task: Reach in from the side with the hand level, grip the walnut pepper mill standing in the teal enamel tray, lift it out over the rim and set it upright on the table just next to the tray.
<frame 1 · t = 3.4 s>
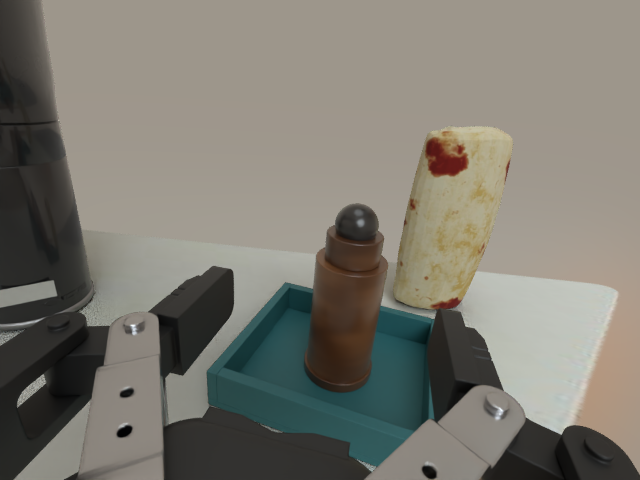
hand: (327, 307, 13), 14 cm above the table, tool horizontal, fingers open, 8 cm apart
pepper mill: (337, 366, 28), point 1 cm above the table, touching tray
food model: (427, 303, 40), on the table
tray: (336, 371, 28), on the table
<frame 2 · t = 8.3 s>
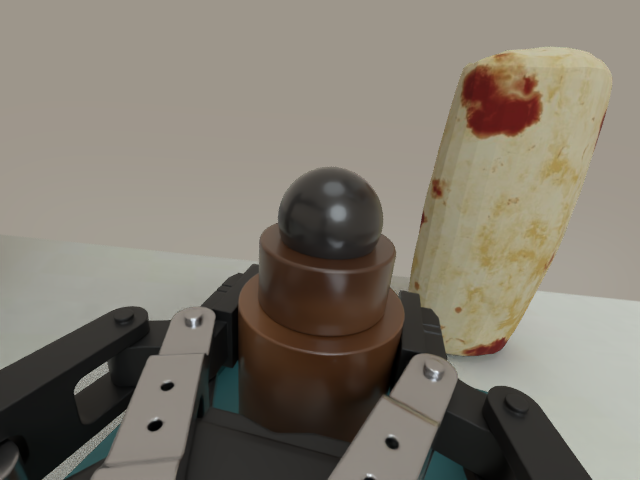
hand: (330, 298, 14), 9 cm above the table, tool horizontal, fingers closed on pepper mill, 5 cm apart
food model: (454, 342, 26), on the table
when the fingers open (8 cm above the table, at t = 15.5 s): pepper mill stays where it is, on the table.
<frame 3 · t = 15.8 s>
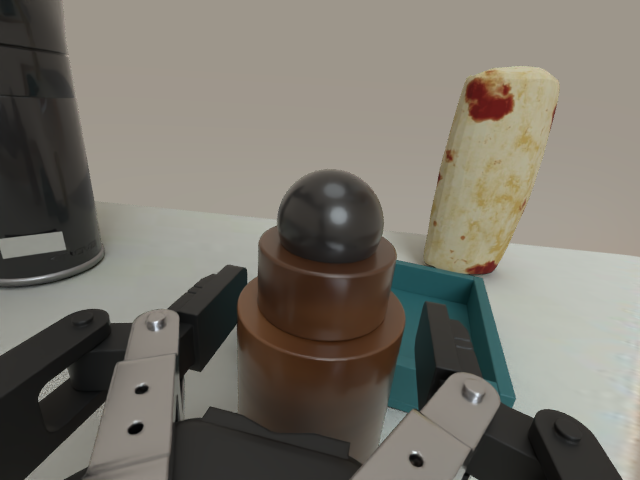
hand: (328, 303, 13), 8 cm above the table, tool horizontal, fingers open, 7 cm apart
food model: (459, 269, 37), on the table
tray: (374, 329, 26), on the table
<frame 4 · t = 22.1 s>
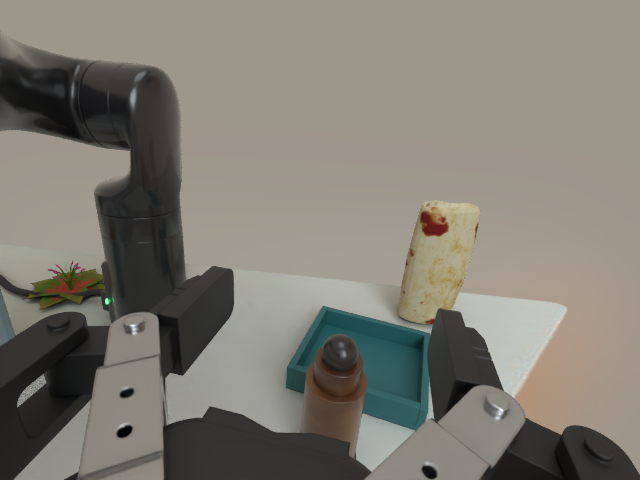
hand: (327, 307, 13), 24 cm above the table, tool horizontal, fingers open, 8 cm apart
pepper mill: (325, 457, 32), on the table
food model: (422, 319, 55), on the table
tray: (362, 367, 44), on the table
lily flower: (71, 291, 54), on the table
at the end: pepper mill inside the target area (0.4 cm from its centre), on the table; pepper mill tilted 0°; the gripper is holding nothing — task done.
